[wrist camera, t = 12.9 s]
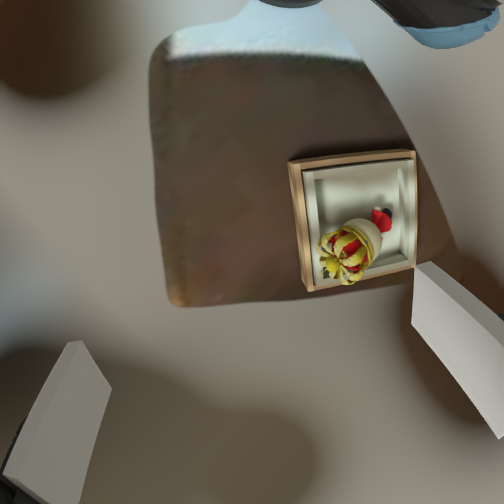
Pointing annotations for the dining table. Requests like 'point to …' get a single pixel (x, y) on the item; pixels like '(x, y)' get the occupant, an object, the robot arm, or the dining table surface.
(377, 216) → the toy
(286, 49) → the dining table surface
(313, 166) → the square wooden tray
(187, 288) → the dining table surface
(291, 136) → the dining table surface
